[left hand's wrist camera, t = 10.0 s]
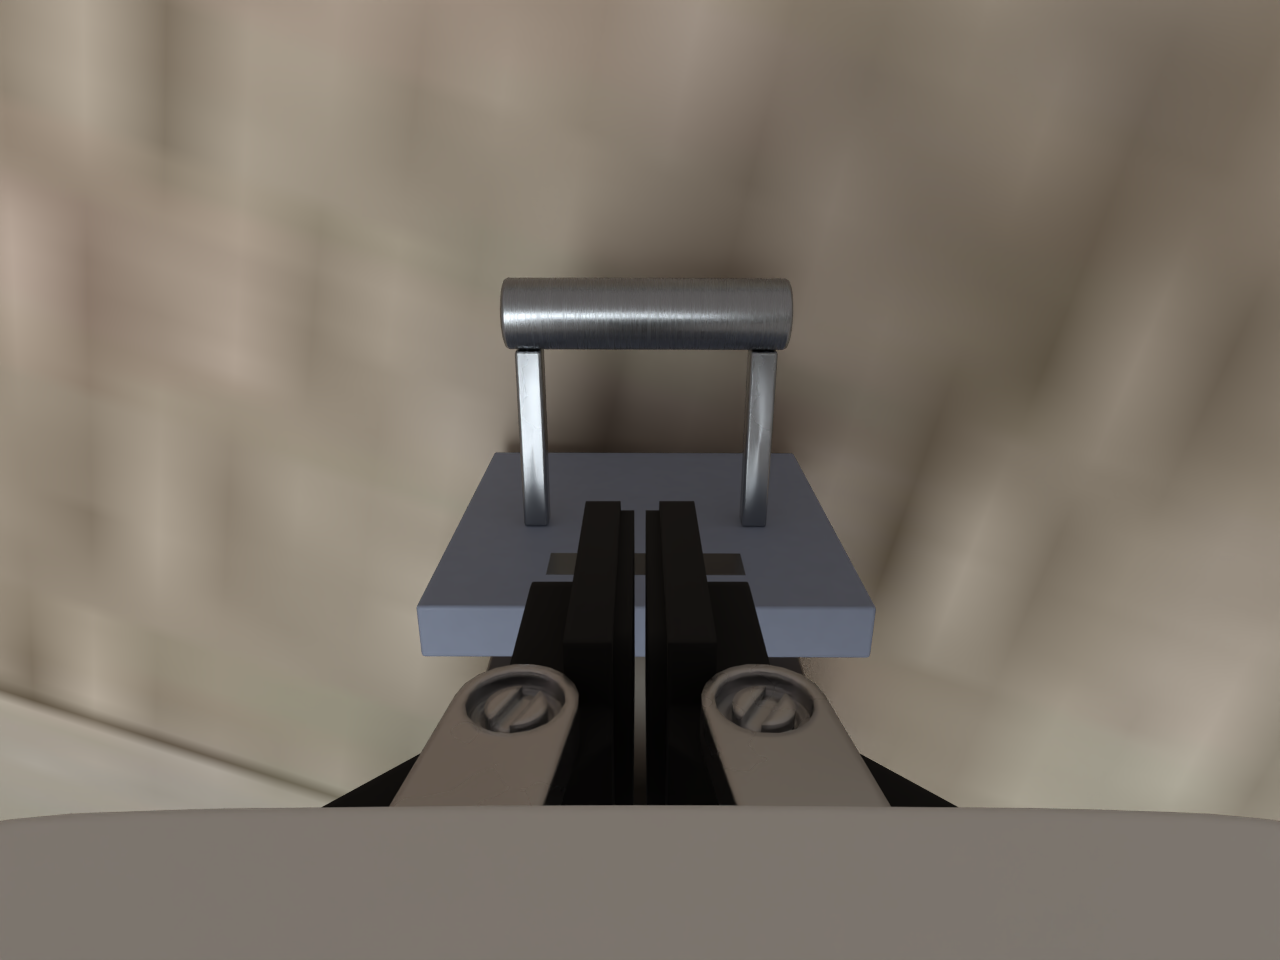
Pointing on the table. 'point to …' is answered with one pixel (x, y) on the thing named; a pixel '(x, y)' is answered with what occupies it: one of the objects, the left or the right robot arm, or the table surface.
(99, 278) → the table surface
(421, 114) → the table surface
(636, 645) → the drawer
